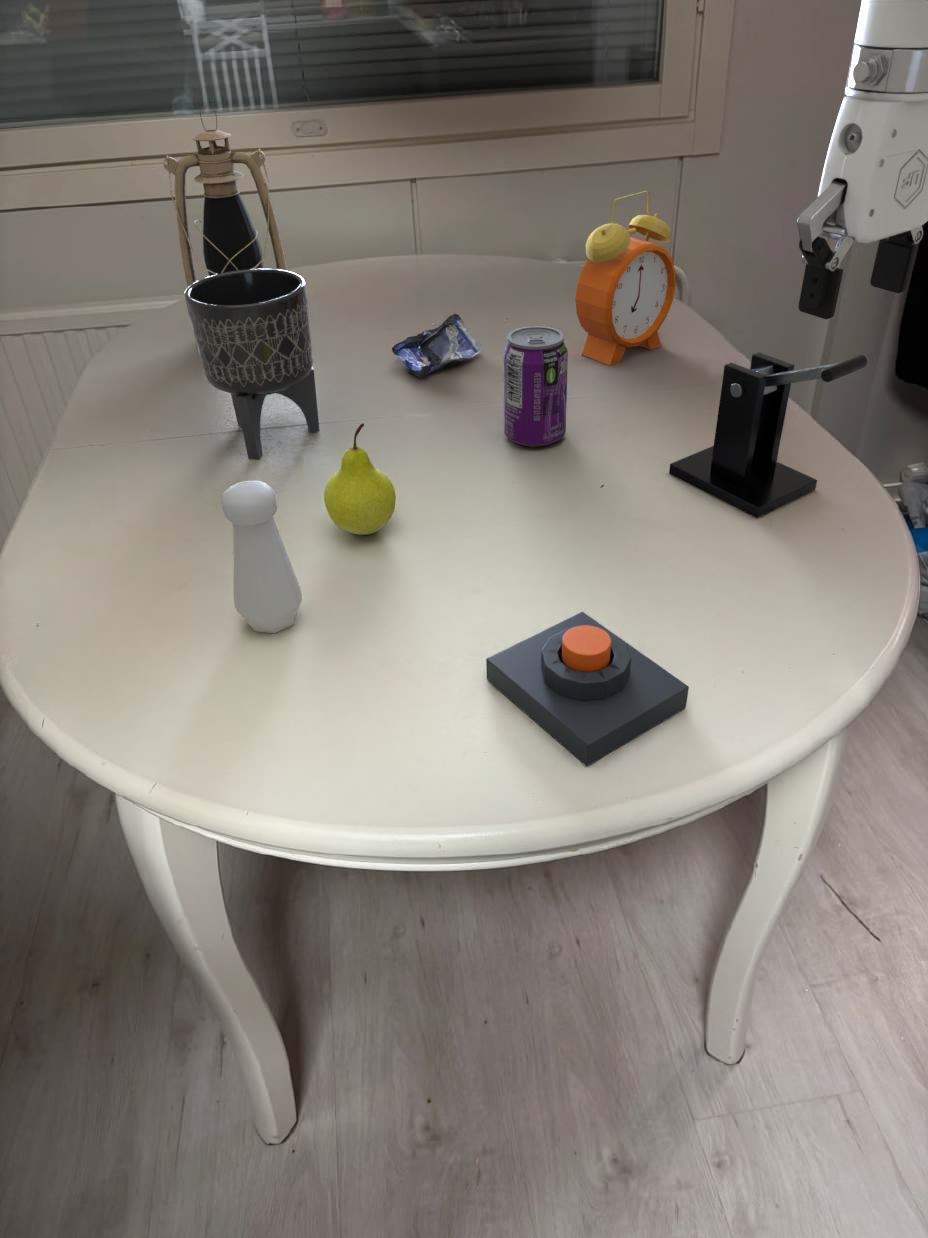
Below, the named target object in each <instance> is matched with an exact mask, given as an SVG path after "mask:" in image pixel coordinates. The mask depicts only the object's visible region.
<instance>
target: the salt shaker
mask: <svg viewBox="0 0 928 1238" xmlns="http://www.w3.org/2000/svg"><path fill="white" fill-rule="evenodd" d="M277 505H278V502H277V497H276V493H275V491H274V489H273V487H271V485H269V484H267V483H265V482H264V481H260V480H245V481H240V482H236V483H234V484H233V485H231V486H229V487H228V488H227V489H226V490H225V492H224V493H223V494H222V495H221V506H222V512H223V515H224V517H225V519H226V520H227V521H228V522H230V523H231V524H232V532H233V533H232V547H233V548H232V555H233V557H232V558H233V559H232V560H233V561H232V562H233V565H232V566H233V568H232V569H233V603H234V608H235V610H236V612H237V613H238V614H239V615H240V616H241V618H243V619H244V620H245V621H246V622H247V624H249V626H250V627H251V628H252V629H253V631H254V632H257V633H267V634H277V633H279V632H281V631H283V630H285V629H288V628H289V627H291V626H293V625H294V623H295V619H296V615H297V613H298V611H299V609H300V607H301V605H302V601H303V593H302V588H301V584H300V582H299V579H298V577H297V575H296V572H295V569H294V567H293V565H292V562H291V559H290V558H289V557H290V556H289V554H288V552H287V549H286V546H285V544H284V542H283V539H282V537H281V533H280V531H279V529H278V526H277V523H276V521H275V518H274V516H275V514H276V513H277V510H278V506H277Z"/></svg>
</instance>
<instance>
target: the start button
mask: <svg viewBox="0 0 928 1238" xmlns="http://www.w3.org/2000/svg"><path fill="white" fill-rule="evenodd" d="M610 652H611V638H610V636H609V635H608V633H607V632H605V631H604V630H603V629H601V628H598V627H595V626H589V625H582V626H576V627H573V628H571V629H569V630H568V631H567V632H566V633H565V634H564V636H563V639H562V660H563V662H564V664H565V665H566V666H567V667H568V668H570V669H572V670H576V671H580V672H584V673H586V672H596V671H600V670H602V669H604V668H605V667H606V666H607V665H608V663H609V661H610Z"/></svg>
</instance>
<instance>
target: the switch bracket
mask: <svg viewBox="0 0 928 1238" xmlns="http://www.w3.org/2000/svg"><path fill="white" fill-rule="evenodd" d="M767 366H773V370H774V373H780V372H786V371H792V370H795V364H793V363H790V362H787V361H784V360H781V359H779V358H776V357H773V356H770V355H768V354H766V353H762V352H756V353H753V354H752V355H751V360H750V367H749V368H747V367H745V366H742V365H739V364H737V363H734V362H729V363H725V364H724V367H723V373H722V379H721V380H722V381H721V387H720V394H719V395H720V396H719V403H718V411H717V417H716V426H715V432H714V440H713V445H712V446H709V447H706V448H704V449H702V450H700V451H697V452H694V453H693V454H690V455H688V456H685V457H683V458H681V459H677V460H675V461H673V462H671V463H669V469H668V474H669V475H670V476H673V477H675V478H677V479H679V480H681V481H683V482H685V483H687V484H689V485H690V486H693V487H694V488H697V489H698V490H701V491H702V492H705V493H706V494H708V495H709V496H712V497H714V498H716V499H718V500H720V501H722V502H724V503H725V504H727V505H730V506H732V507H734V508H735V509H738V510H740V511H741V512H743V513H746V514H748V515H749V516H751V517H753V518H755V519H759V518H760V517H762V516H765V515H767V514H769V513H771V512H773V511H775V510H777V509H779V508H781V507H783V506H785V505H787V504H789V503H791V502H793V501H795V500H798V499H800V498H801V497H804V496H806V495H808V494H810V493H812V492H814V491H816V490H817V489H816V488H817V484H818V479H816V478H814V477H811V476H810V475H807V474H805V473H803V472H800V471H798V470H796V469H794V468H792V467H790V466H787V465H785V464H783V463H781V462H779V461H778V457H779V452H780V451H779V450H780V446H781V441H782V436H783V435H782V434H783V429H784V424H785V420H786V413H787V408H788V403H789V398H790V397H789V396H790V392H791V386H792V383H789V384H782V385H777V390H776V391H773V392H771V393H768V394H766V395H764V389H765V383H766V377H767V376H766V375H763V374H760V373H758V372H755V371H753V370H751V369H756V368H762V367H767Z"/></svg>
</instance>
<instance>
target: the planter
mask: <svg viewBox="0 0 928 1238" xmlns="http://www.w3.org/2000/svg"><path fill="white" fill-rule="evenodd" d="M307 294H308V293H307V284H306V280H305V279H304V278H303V277H302V276H301V275H299V274H297V273H295V272H293V271H288V270H287V271H284V270H277V268H276V269H275V268H263V269H247V270H237V271H231V272H225V273H221V274H216V275H213V276H210V275H209V276H207V277H204V278H201V279H199V280H196V282H195V283H193V284H192V285H190V286H189V287H188V286H187V288H186V289H185V291H184V293H183V298H184V301H185V306H186V309H187V313H188V316H189V320H190V325H191V328H192V332H193V335H194V339H195V343H196V347H197V351H198V354H199V358H200V361H201V366H202V369H203V373H204V375H205V378H206V380H207V382H208V383H209V384H210V386H212V387H213V388H215V389H217V390H219V391H221V392H224V393H228V394H230V396H231V401H232V406H233V410H234V415H235V419H236V423H237V427H238V428H241V431H242V437H243V440H244V444H245V449H246V453H247V459H248V460H257V461H258V460H260V459H261V458H262V457H263V447H262V436H261V421H262V420H261V419H262V412H263V411H262V410H263V406H264V403H265V400H266V397H267V396H270V395H274V394H278V395H281V396H283V397H286V398H287V399H289V400H291V401H292V402H293V403H294V404H295V405H296V406H297V407H298V408H299V409H300V410H301V412H302V414H303V416H304V419H305V422H306V426H307V428H308V432H309V433H310V434H313V433H318V432H320V422H319V421H320V419H319V411H318V410H319V409H318V400H317V390H316V380H315V379H316V378H315V369H314V367H313V365H314V358H313V349H312V348H313V347H312V337H311V326H310V316H309V306H308V305H309V304H308V295H307Z"/></svg>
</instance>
